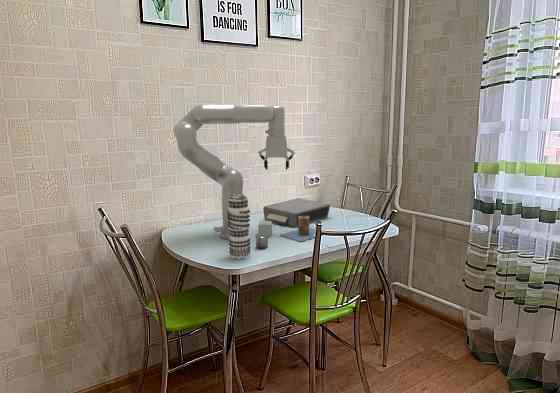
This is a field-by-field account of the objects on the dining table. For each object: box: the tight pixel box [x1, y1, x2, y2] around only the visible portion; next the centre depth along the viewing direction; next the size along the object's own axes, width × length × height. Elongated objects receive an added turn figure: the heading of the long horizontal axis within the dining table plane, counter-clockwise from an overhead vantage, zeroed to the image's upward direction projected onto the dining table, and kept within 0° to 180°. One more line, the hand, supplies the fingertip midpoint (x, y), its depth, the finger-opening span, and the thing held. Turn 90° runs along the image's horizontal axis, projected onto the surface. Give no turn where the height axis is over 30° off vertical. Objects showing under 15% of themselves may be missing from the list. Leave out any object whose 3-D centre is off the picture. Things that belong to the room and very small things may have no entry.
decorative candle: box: [227, 193, 251, 260], centre depth 167 cm, size 9×9×25 cm
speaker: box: [263, 197, 331, 229], centre depth 223 cm, size 24×8×30 cm
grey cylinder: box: [255, 234, 269, 250], centre depth 178 cm, size 5×5×5 cm
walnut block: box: [297, 216, 310, 235], centre depth 194 cm, size 5×5×8 cm
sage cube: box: [257, 220, 273, 238], centre depth 196 cm, size 6×6×6 cm
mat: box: [279, 227, 316, 243], centre depth 195 cm, size 18×14×1 cm
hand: (276, 169), depth 198 cm, fingers open, 9 cm apart
